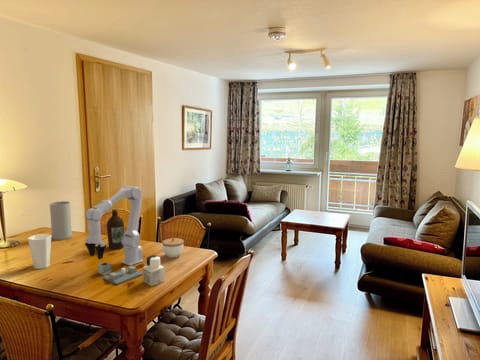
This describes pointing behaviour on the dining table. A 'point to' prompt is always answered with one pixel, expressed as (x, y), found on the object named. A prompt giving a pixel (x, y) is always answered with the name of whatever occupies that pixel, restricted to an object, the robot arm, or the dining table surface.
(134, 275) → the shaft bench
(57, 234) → the cylinder vase
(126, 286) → the dining table surface
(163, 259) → the dining table surface
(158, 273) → the container
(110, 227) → the olive oil
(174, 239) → the lidded bowl
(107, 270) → the box
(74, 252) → the dining table surface
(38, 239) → the cup
